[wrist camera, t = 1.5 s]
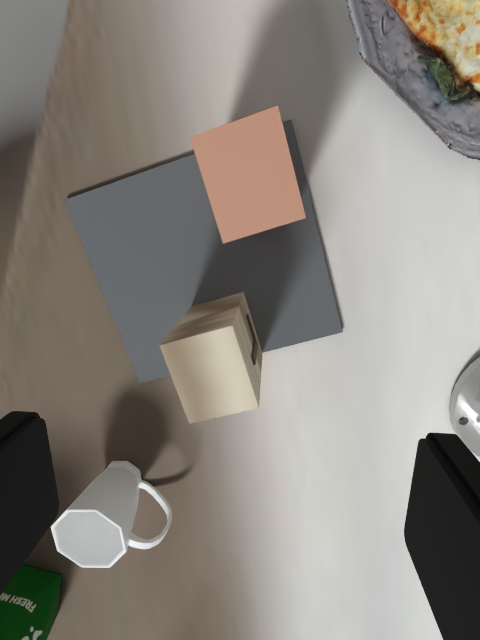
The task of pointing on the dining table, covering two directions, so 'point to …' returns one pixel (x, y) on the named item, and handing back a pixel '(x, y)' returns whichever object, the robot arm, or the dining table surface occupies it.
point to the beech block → (215, 359)
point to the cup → (106, 518)
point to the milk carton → (29, 604)
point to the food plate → (427, 61)
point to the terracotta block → (249, 175)
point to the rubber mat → (199, 261)
